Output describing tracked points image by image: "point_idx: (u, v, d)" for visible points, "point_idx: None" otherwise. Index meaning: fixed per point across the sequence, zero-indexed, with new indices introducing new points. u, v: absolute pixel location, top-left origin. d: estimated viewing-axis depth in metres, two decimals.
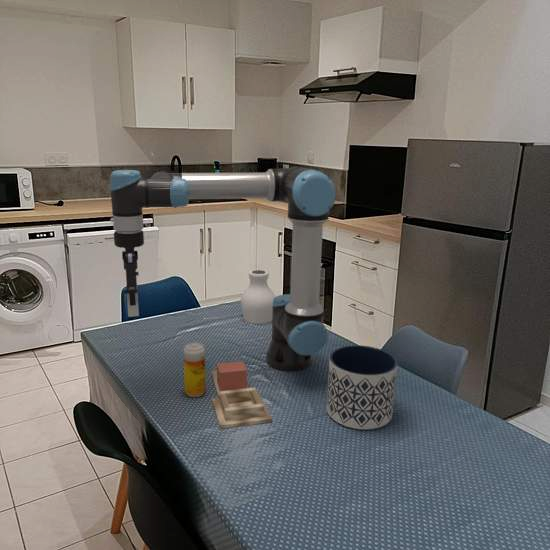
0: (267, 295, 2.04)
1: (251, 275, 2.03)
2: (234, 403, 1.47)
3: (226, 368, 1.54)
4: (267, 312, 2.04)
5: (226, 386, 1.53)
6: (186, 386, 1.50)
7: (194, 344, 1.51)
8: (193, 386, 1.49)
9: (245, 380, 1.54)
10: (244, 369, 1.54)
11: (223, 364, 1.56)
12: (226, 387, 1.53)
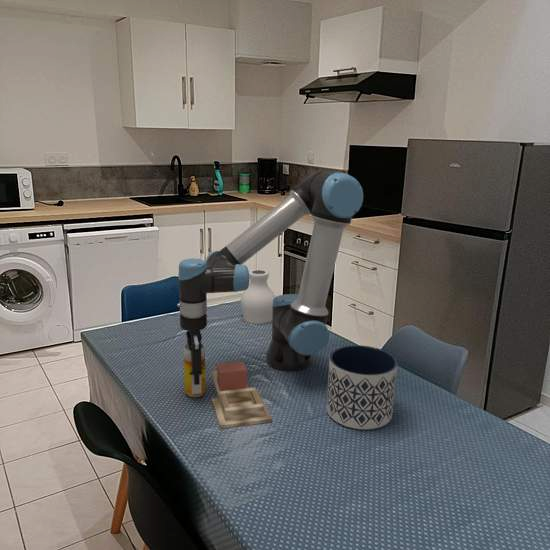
0: (267, 295, 2.04)
1: (251, 275, 2.03)
2: (234, 403, 1.47)
3: (226, 368, 1.54)
4: (267, 312, 2.04)
5: (226, 386, 1.53)
6: (186, 386, 1.50)
7: None
8: None
9: (245, 380, 1.54)
10: (244, 369, 1.54)
11: (223, 364, 1.56)
12: (226, 387, 1.53)
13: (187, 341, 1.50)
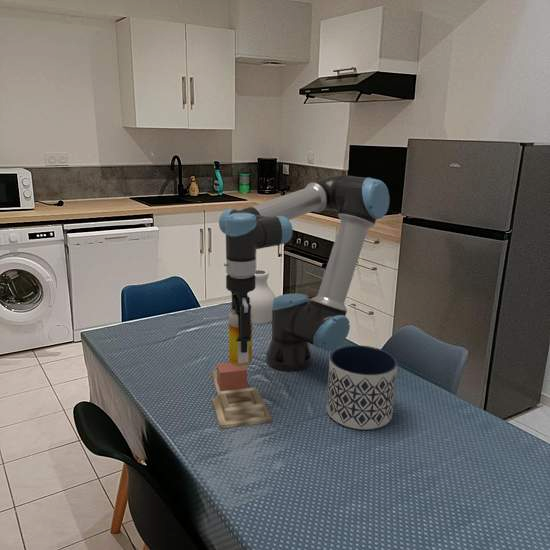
0: (267, 295, 2.04)
1: None
2: (234, 403, 1.47)
3: (226, 368, 1.54)
4: (267, 312, 2.04)
5: (226, 386, 1.53)
6: (231, 355, 1.37)
7: None
8: None
9: (245, 380, 1.54)
10: (244, 369, 1.54)
11: (223, 364, 1.56)
12: (226, 387, 1.53)
13: (233, 305, 1.36)
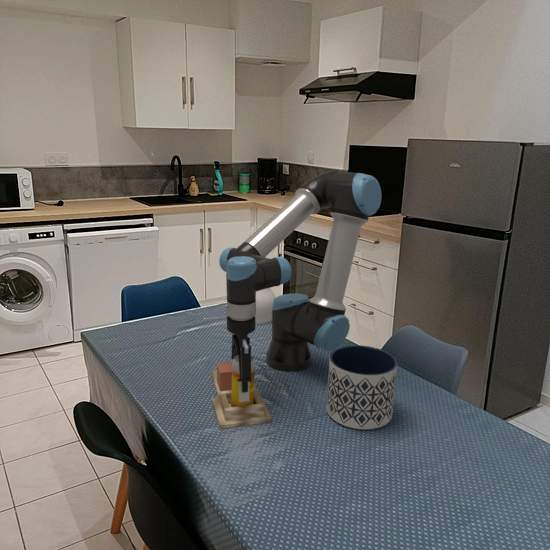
0: (267, 295, 2.04)
1: None
2: None
3: (226, 368, 1.54)
4: (267, 312, 2.04)
5: (226, 386, 1.53)
6: (234, 401, 1.40)
7: None
8: None
9: None
10: None
11: (223, 364, 1.56)
12: (226, 387, 1.53)
13: (233, 345, 1.40)
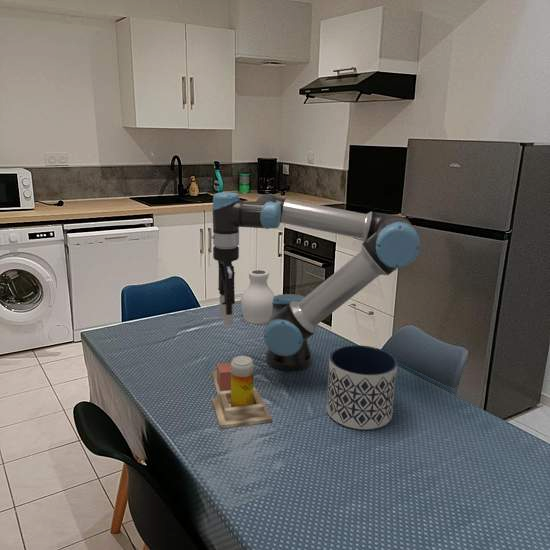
0: (267, 295, 2.04)
1: (251, 275, 2.03)
2: None
3: (226, 368, 1.54)
4: (267, 312, 2.04)
5: (226, 386, 1.53)
6: (234, 403, 1.40)
7: (241, 357, 1.41)
8: (242, 402, 1.39)
9: None
10: None
11: (223, 364, 1.56)
12: (226, 387, 1.53)
13: (219, 274, 1.56)
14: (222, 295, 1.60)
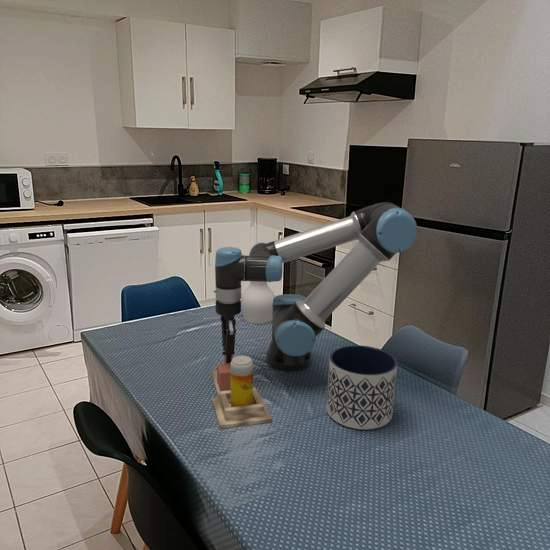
0: (267, 295, 2.04)
1: None
2: None
3: (226, 368, 1.53)
4: (267, 312, 2.04)
5: (227, 386, 1.52)
6: (234, 403, 1.40)
7: (240, 357, 1.41)
8: (242, 402, 1.39)
9: None
10: None
11: (223, 364, 1.56)
12: (226, 388, 1.53)
13: (222, 327, 1.56)
14: None
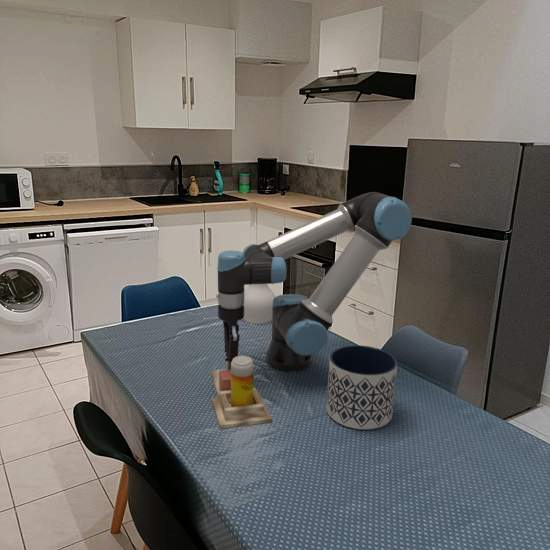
0: (267, 295, 2.04)
1: None
2: None
3: (229, 375, 1.49)
4: (267, 312, 2.04)
5: None
6: (234, 403, 1.40)
7: (241, 357, 1.41)
8: (242, 402, 1.39)
9: None
10: None
11: (226, 371, 1.52)
12: None
13: (224, 332, 1.52)
14: None
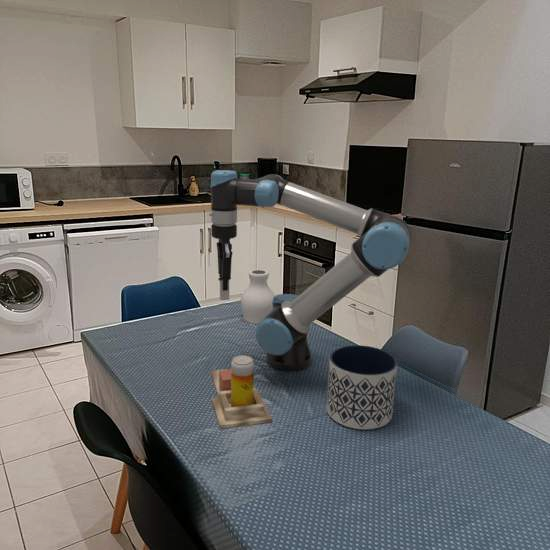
0: (267, 295, 2.04)
1: (251, 275, 2.03)
2: None
3: (229, 375, 1.49)
4: (267, 312, 2.04)
5: None
6: (234, 403, 1.40)
7: (241, 357, 1.41)
8: (242, 402, 1.40)
9: None
10: None
11: (226, 371, 1.52)
12: None
13: (218, 252, 1.56)
14: None
